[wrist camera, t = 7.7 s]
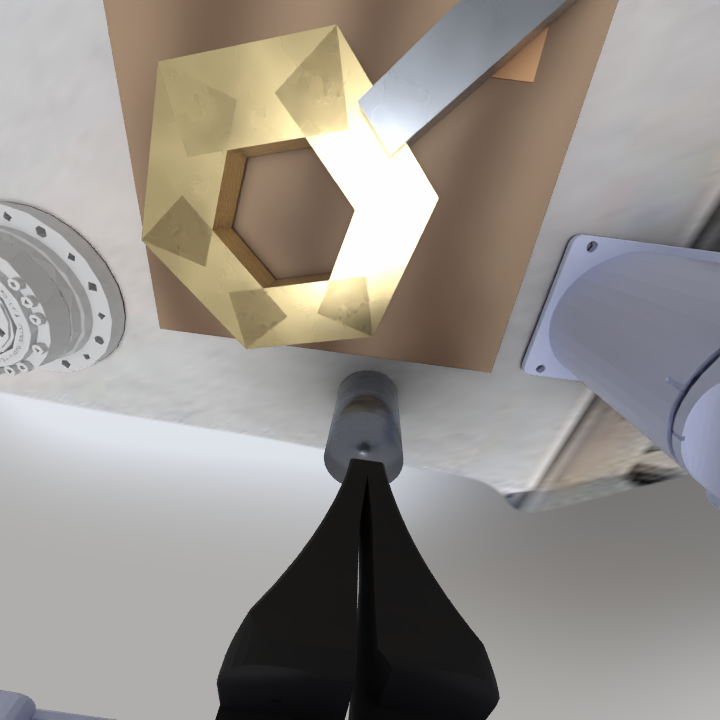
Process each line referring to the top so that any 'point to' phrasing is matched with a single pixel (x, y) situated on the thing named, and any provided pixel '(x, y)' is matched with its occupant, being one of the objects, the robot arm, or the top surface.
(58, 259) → the mechanical component
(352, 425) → the steel pin
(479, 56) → the handled hexagon ring
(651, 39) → the top surface
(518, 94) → the mount board
